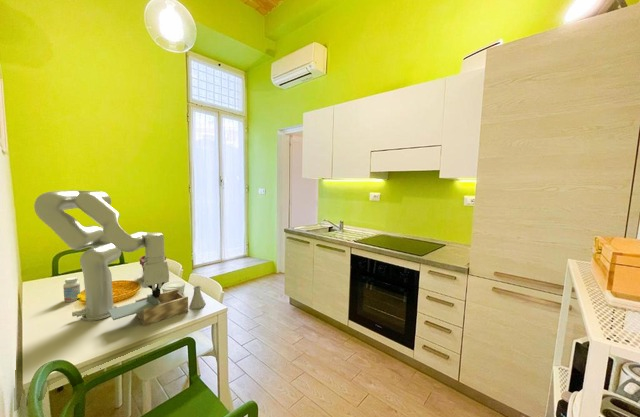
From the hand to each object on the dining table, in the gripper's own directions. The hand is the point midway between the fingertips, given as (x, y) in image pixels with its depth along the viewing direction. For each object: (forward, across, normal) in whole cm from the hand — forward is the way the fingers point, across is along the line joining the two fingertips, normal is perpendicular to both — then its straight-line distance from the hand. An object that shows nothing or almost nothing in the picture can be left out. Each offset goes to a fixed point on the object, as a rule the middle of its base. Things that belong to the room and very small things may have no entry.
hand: (156, 296), depth 122 cm
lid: (+1, -9, -4) cm, 10 cm away
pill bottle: (+8, -25, +44) cm, 51 cm away
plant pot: (+8, +14, +52) cm, 55 cm away
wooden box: (+7, +1, -4) cm, 8 cm away
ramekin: (+8, +13, +14) cm, 20 cm away
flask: (+8, +16, -8) cm, 19 cm away
